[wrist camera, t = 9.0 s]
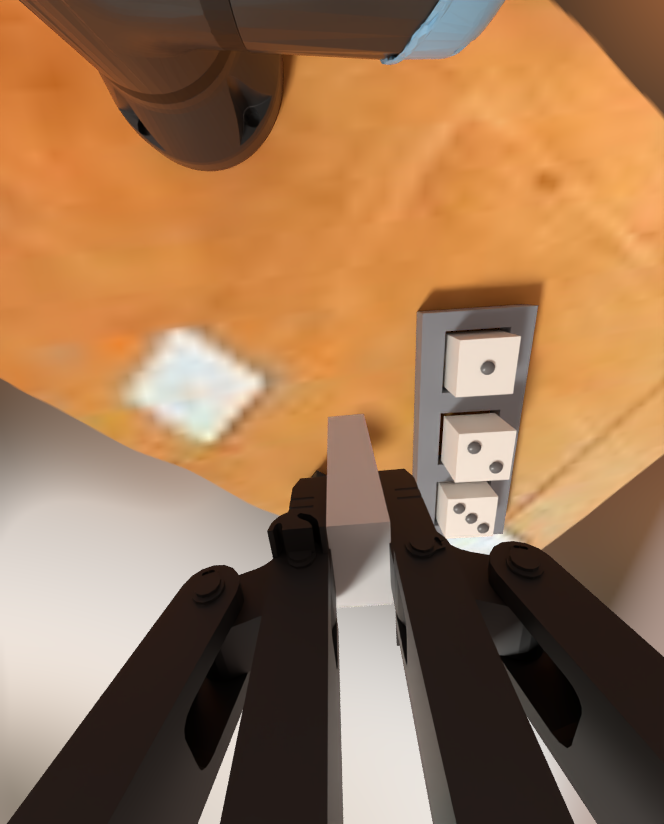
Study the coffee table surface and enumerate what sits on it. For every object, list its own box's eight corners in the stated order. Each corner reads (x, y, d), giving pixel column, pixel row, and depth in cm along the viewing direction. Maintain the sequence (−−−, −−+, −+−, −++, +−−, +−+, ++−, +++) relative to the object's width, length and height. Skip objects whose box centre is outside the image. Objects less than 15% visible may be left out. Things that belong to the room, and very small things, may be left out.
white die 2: (435, 476, 44) (448, 500, 40) (480, 474, 44) (499, 497, 40) (433, 513, 47) (445, 539, 42) (476, 510, 47) (493, 537, 42)
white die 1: (444, 333, 38) (460, 340, 33) (497, 329, 37) (522, 336, 33) (441, 383, 40) (456, 397, 35) (491, 380, 40) (513, 394, 35)
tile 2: (443, 416, 39) (459, 434, 35) (494, 412, 39) (517, 431, 34) (441, 460, 42) (455, 483, 37) (489, 457, 42) (510, 480, 37)
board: (416, 311, 37) (422, 313, 35) (525, 304, 37) (538, 305, 35) (411, 526, 48) (415, 538, 46) (494, 521, 48) (502, 533, 46)
